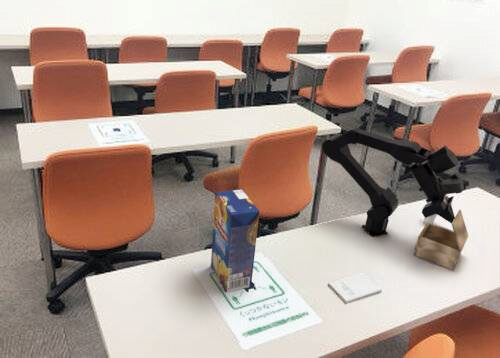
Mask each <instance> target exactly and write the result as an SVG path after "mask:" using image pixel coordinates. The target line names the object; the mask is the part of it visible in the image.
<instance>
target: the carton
mask: <svg viewBox="0 0 500 358" xmlns="http://www.w3.org/2000/svg"><path fill="white" fill-rule="evenodd" d="M424 225H425V226H424V227H423V229H422V230H421V232H420V233H419V235H418V237H417V240H416V244H415V247H414V254H413V256H415V257H417V258H419V259H423V260H425V261H427V262H430V263H433V264H435V265H438V266H440V267H444V268H446V269H448V270H450V271H454V269H455V267H456V264H457V263H458V260H459V258H460V256H461V254H462V251H460V250H459V247H458V244H457V240H456V237H455V234H454V230H453V229H450V228H447V227H444V226H441V225H437V224H435V223H433V224H431V223H429V222H427V224H424Z"/></svg>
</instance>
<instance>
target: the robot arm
mask: <svg viewBox="0 0 500 358" xmlns="http://www.w3.org/2000/svg"><path fill="white" fill-rule="evenodd" d="M352 143H356V144H359V145H362V146H365V147H368V148H370V149H374V150H375V151H376V150H377V151H380V152H383V153H385V154H387V155H389V156H390V157H392V158H393V159H394V160H396V161H398V162H400V163H401V164H404V165H405V166H404V171H403V175H407V174H409V173H411V174H412V175H411V176H413V178H414V180H415V181H416V183H417V185H419V188H418V190H419V192H423V194H424V196H425V197H426V199H425V202H426V204H425V205H424V206H423V207H422V211H421V213H422V215H423V217H425V218H427V217H429V216H432V215H434V214H437V215H436V216H439V217H441V218H442V219H444V220H445V221H447V222H448V223H450V224H451V225H452V222H453V220H454V218H455V216H456V215H455V213H454V209H453V206H452V203H453V199H454V196H450V197H449V196H448V195H447V194H461V193H462V192H463V191H464V189H465V188H464V179H463V177H461V176H460V175H459V174H458V173H452V174H451V175H450V177H449V178H447V179H443V178H442V176H440V175H439V176H437V175H436V174H443V173H445V172H447V171H449V170H451V169H454V168H455V167H458V166H459V159H458V158H457V155H456V154H455V152H453V151H452V150H451V149H450V148H448V146H447V145H443V146H441V147H440V148H439V149H437V150H434V151H432V150H430V149H427V148H425V147H422V146H421V144H420V143H419V142H416V141H412V140H407V139H406V140H405V139H392V138H389V137H386V136H383V135H380V134H376V133H373V132H372V131H371V132H370V131H367V130H364V129H361V128H359V127H357V126H355V127H352V128H351V129H350V130H349V129H348V130H347V131H346V132H344V133H341V134H339V135H337V134H335V135H332V136H331V137H329V138H327V139H326V140H324V141H323V142H322V144H321V151H322V153H323V154H324V155H325V156H326V157H327V158H329V160H331V161H333V162H335V163H337V164H339V165H340V166H341V167H342V168H343V169H344V170H345V171H346V172H347V174H348V175H349V176H350V177H351V178H352V179H353V180H354V181H355V183H356V184H357V185H358V186H359V187H360V188H361V189H362V191H364V193H365V194H366V195H367V196H368V198H369V201H370V205H371V207H370V208H369V209H368V210H367V211H366V216H367V217H366V219H365V224H362V225H361V227H362V228H363V230H364V231H365V232H366V233H368V235H369V236H371V237H379V236H386V235H388V233H389V232H388V231H387V228H388V224H389V221H390V220H389V217H390V216H392V215H393V213H394V212H395V211H396V209H397V208H398V206H399V199H398V198H397V197H398V195H397V194H395V192H393V191H392V189H391V188H390V187H386V189H385V188H383V187H381V186H380V185H379V184H378V183H377V182H376V181H375V179H373V178H372V176H371V175H370V174H369V173H368V172H367V170H365V168H364V167H363V166H362V165H361V164H360V163H359V162H358V161H357V160H356V158H355V157H354V156H353V155H352V153H351V150H350V147H349V144H352ZM429 202H430V203H429ZM427 203H428V204H427Z"/></svg>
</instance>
